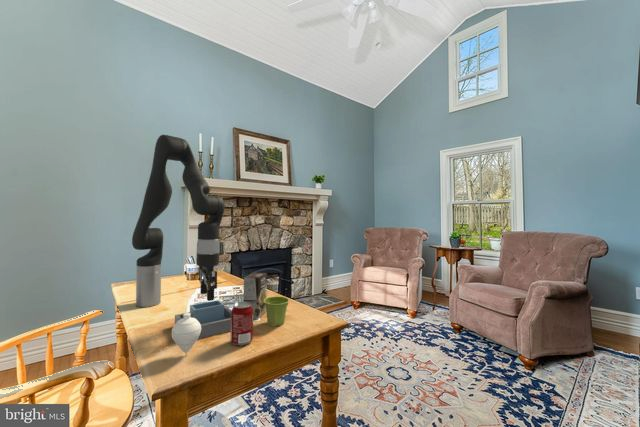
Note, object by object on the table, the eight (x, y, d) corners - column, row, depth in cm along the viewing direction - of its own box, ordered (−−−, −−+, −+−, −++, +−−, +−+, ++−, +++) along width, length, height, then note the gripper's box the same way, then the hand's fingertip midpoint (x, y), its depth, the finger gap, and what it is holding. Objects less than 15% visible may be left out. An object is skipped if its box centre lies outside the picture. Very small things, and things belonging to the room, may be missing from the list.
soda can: (253, 345, 86) (253, 307, 86) (230, 348, 84) (230, 308, 84) (252, 336, 92) (252, 300, 92) (230, 338, 90) (231, 301, 90)
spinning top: (195, 362, 76) (195, 318, 76) (166, 363, 75) (166, 319, 75) (204, 348, 83) (205, 308, 83) (178, 349, 83) (178, 309, 83)
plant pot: (273, 316, 110) (273, 294, 110) (293, 321, 106) (293, 298, 105) (257, 325, 101) (258, 301, 101) (279, 330, 97) (279, 305, 97)
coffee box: (257, 320, 106) (258, 277, 106) (242, 318, 107) (243, 276, 107) (267, 311, 115) (267, 272, 115) (252, 310, 116) (253, 271, 116)
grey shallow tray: (174, 326, 99) (174, 314, 99) (225, 315, 110) (225, 305, 110) (183, 342, 87) (183, 329, 87) (239, 328, 98) (239, 317, 98)
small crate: (189, 324, 98) (189, 305, 98) (218, 318, 104) (218, 300, 104) (193, 330, 93) (194, 310, 93) (223, 323, 99) (224, 304, 99)
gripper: (192, 249, 102) (191, 293, 102) (202, 255, 90) (201, 304, 91) (213, 248, 106) (212, 290, 106) (225, 253, 95) (224, 300, 95)
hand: (207, 296), depth 99 cm, fingers open, 8 cm apart
